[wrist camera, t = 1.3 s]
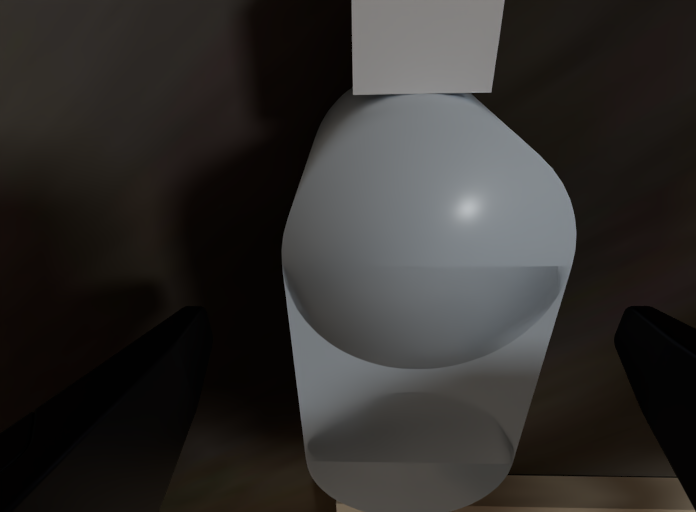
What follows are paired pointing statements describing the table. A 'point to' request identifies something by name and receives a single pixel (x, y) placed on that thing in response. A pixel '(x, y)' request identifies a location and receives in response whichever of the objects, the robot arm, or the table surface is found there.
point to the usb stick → (421, 267)
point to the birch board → (579, 495)
